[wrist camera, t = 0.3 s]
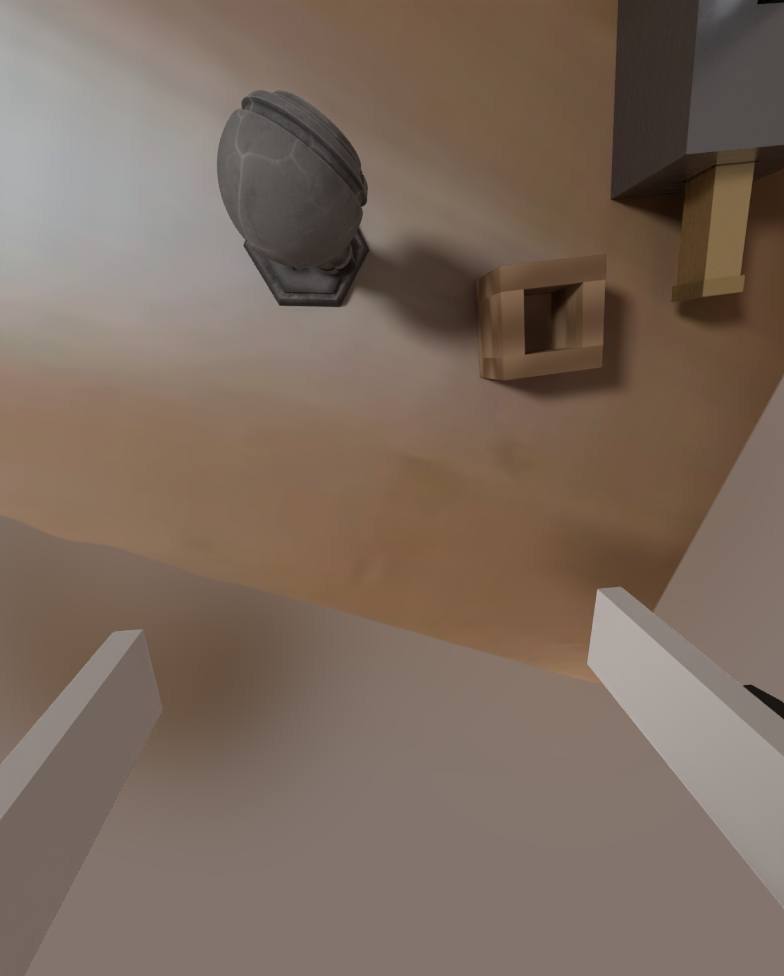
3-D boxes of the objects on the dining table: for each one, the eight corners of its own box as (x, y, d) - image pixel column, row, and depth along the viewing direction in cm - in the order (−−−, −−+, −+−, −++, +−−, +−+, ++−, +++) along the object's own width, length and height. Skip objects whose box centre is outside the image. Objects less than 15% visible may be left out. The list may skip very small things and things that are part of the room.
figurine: (384, 220, 33) (414, 116, 19) (326, 333, 35) (314, 315, 21) (286, 151, 31) (237, -25, 17) (230, 275, 33) (145, 211, 19)
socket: (610, 199, 35) (686, 154, 27) (618, -5, 30) (709, -125, 23) (743, 185, 35) (853, 138, 28) (768, -15, 31) (904, -135, 24)
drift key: (671, 302, 35) (702, 296, 32) (681, 175, 32) (716, 156, 29) (708, 297, 35) (742, 291, 32) (722, 171, 33) (761, 151, 30)
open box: (474, 281, 35) (500, 266, 30) (564, 270, 36) (606, 253, 30) (479, 377, 38) (504, 380, 32) (563, 366, 38) (602, 367, 33)
